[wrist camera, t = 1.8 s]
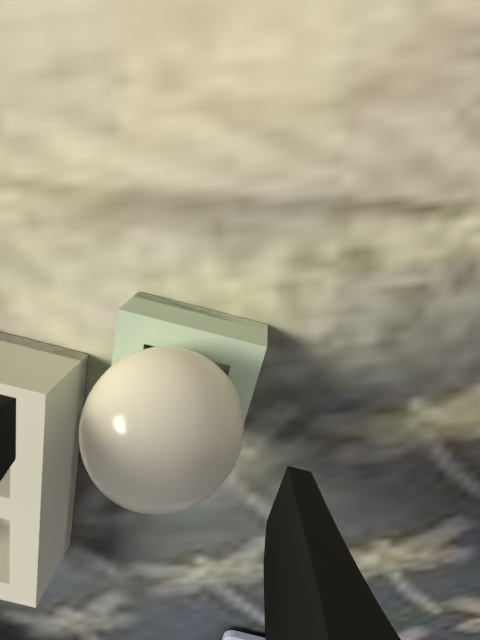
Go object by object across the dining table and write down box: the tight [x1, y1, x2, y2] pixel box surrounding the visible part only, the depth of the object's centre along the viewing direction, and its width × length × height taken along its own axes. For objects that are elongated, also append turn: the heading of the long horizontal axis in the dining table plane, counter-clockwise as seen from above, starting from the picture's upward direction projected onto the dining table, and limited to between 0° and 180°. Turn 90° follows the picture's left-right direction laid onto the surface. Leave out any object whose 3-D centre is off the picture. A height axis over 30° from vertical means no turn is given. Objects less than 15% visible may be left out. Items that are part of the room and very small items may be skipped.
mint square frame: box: [111, 292, 268, 423], centre depth 14 cm, size 5×5×2 cm
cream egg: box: [79, 346, 244, 515], centre depth 11 cm, size 5×5×5 cm
